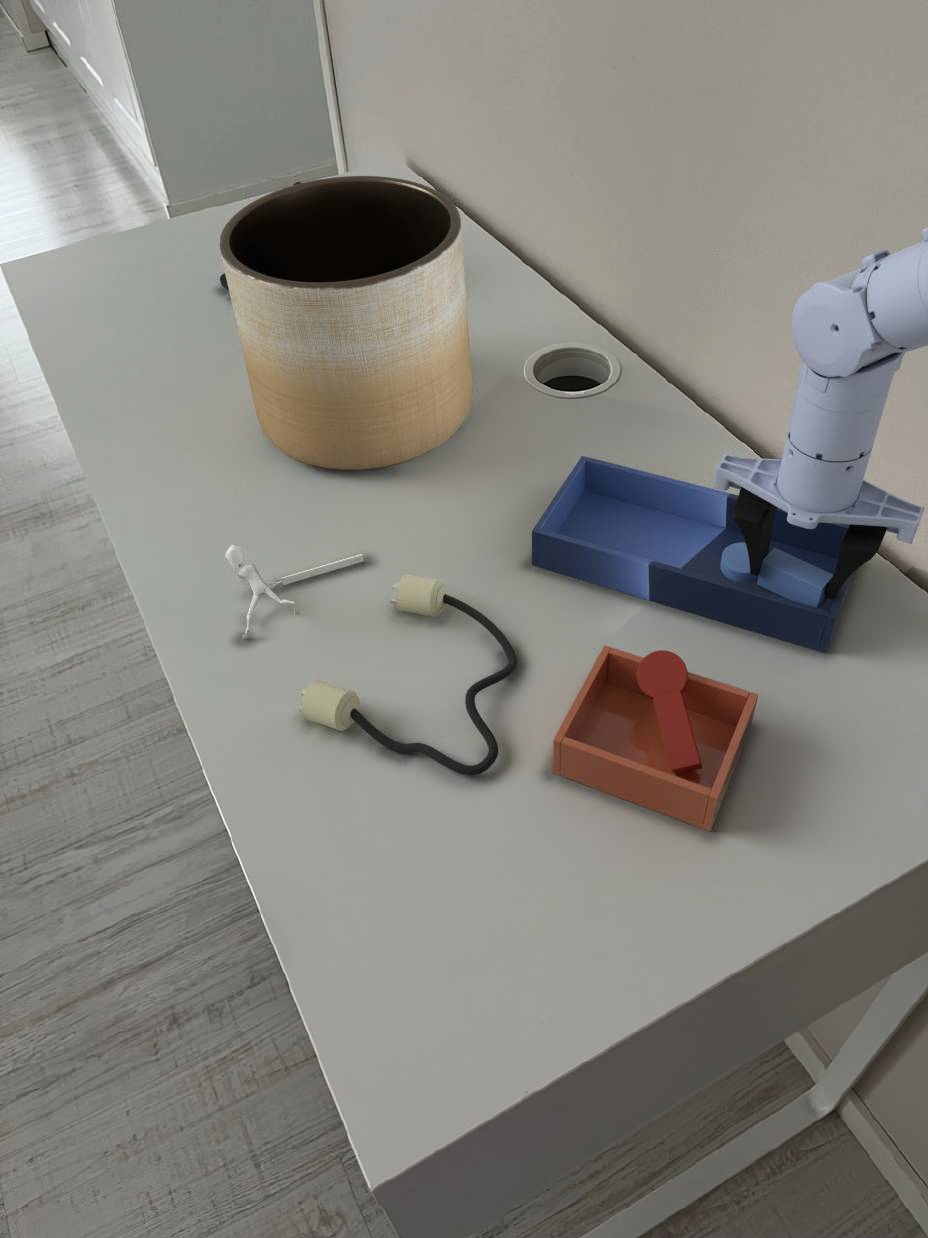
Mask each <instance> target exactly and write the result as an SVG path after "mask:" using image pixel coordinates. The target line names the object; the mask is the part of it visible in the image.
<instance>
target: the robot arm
mask: <svg viewBox="0 0 928 1238" xmlns="http://www.w3.org/2000/svg"><path fill="white" fill-rule="evenodd" d="M921 234H922V238H923V240H922V241H919V242H916V243H914V244H912V245H910V246H908V247H905V248H903V249H901V250H899V251H896V252H894V253H892V254H891V252H890V250H888V249H882V250H879V251H877V252H874V253H872V254H869V255H868V256H865V257H864V258H863V259H862V262H861V263H862V267H860V268H857V269H854V270H852V271H849V272H847V273H845V274H842V275H840V276H837V277H834V278H832V279H829V280H824V281H817V282H815V283H814V284H813V285H812V286H811V288H810V289H808V290H807V291H805V292H804V293H802V295H801V296H800V297H799V298H798V299H797V300H796V302H795V305H794V307H793V310H792V314H791V320H790V321H791V322H790V323H791V324H790V326H791V327H790V328H791V336H792V340H793V343H794V346H795V350H796V351H797V353H798V355H799V356H800V358H801V360H802V362H801V367H800V371H799V375H798V380H797V384H796V385H797V386H796V391H795V395H794V399H793V404H792V409H791V414H790V418H789V424H788V428H787V432H786V437H785V441H784V446H783V450H782V455H781V458H780V459H778V458H759V457H746V456H745V457H744V456H738V455H734V454H733V455H732V454H728V453H724V454H723V456H722V457H721V459H720V461H719V462H718V465H716V468H715V474H714V480H713V486H712V487H713V488H712V489H715V490H719V491H723V492H726V491H728V490H729V489H730V488H732V489H733V488H734V489H736V490H739V493H738V495H739V497H738V500H737V502H736V504H735V506H734V508H733V519H734V521H735V522H736V523H737V525H738V527H739V528H740V530H741V533H742V535H743V537H744V540H745V543H746V547H747V551H748V556H749V563H750V574H752V575H756V576H758V575H759V573H760V570H761V566H762V561H763V559H764V558H765V557H766V556H767V555H768V552H769V547H770V540H771V533H772V526H773V521H774V518H775V514H776V510H777V507H778V508H780V509H782V510H783V511H785V512H787V513H788V516H787V521H788V522H789V523H790V524H792V525H796V526H799V527H803V528H806V529H814V528H816V527H817V525H818V523H836V524H850V526H849V528H848V530H847V532H846V534H845V537H844V539H843V541H842V543H841V547H840V551H839V556H838V561H837V565H836V569H835V572H834V575H833V577H832V580H831V582H830V584H829V587H828V589H827V592H826V596H825V597H826V598H829V599H832V600H834V599H835V598H836V595H837V593H838V591H839V589H840V588H841V586H842V585H843V584H844V582H845V581H846V580H847V579H848V578H849V577H850V575H851V574H852V573H853V572H854V573H855V572H856V571H857V570H858V569H859V568H861V567H862V566H863V565H865V564H866V563H868V562H870V561H871V560H872V559H873V558H874V557H875V556H876V555H877V553H878V552H879V550H880V548H881V545H882V543H883V541H884V538H885V535H886V533H887V532H888V533H892V534H895V535H896V539H897V541H899V542H902V543H906V544H909V545H911V544H913V542H914V539H915V537H916V534H917V531H918V528H919V525H920V522H921V520H922V517H923V515H924V511H925V509H926V508H925V507H924V506H920V505H918V504H914V503H911V502H909V501H907V500H904V499H902V498H899V497H897V496H896V495H894V494H892V493H890V492H888V491H886V490H884V489H882V488H881V487H879V486H876V485H875V484H874V483H871V482H869V481H867V480H865V475H866V471H867V468H868V464H869V461H870V458H871V454H872V452H873V448H874V443H875V440H876V436H877V434H878V429H879V426H880V423H881V419H882V416H883V413H884V409H885V405H886V402H887V399H888V396H889V392H890V389H891V385H892V382H893V379H894V375H895V372H897V371H899V370H900V369H901V365H902V363H903V359H904V357H905V355H906V353H907V352H912V351H914V350H917V349H921V348H923V347H927V346H928V227H925V228H923V229H922V231H921ZM854 573H853V574H854Z"/></svg>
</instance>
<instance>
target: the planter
mask: <svg viewBox="0 0 928 1238" xmlns="http://www.w3.org/2000/svg"><path fill="white" fill-rule="evenodd" d="M462 227H463V226H462V218H461V214H460V211H459V209H458V208H457V206H456V205H455V203H454V202H453V201H452V200H451V199H450V198H449V197H447V195H445V194H443V193H442V192H440V191H438V190H436V189H434V188H432V187H430V186H427V185H425V184H422V183H418V182H416V181H411V180H407V179H404V178H397V177H390V176H380V175H379V176H378V175H348V176H345V175H344V176H334V177H326V178H320V179H314V180H310V181H305V182H301V183H300V184H296V185H294V184H293V185H290V186H287V187H284V188H281V189H280V188H279V189H278V190H275V191H273V192H270V193H268V194H265V195H263V196H261V197H259V198H257V199H255V200H254V201H252V202H250V203H249V204H247V205H245V206H244V207H242V208H241V209H240V210H239V211H237V212H236V213H235V214H233V215H232V216H231V218H230V219H229V220H228V221H227V222H226V224H225V226H224V227H223V228H222V230H221V232H220V237H219V241H218V245H219V246H218V247H219V252H220V257H221V262H222V266H223V270H224V273H225V275H226V279H227V283H228V288H229V291H228V292H229V296H230V301H231V305H232V309H233V314H234V317H235V323H236V327H237V332H238V336H239V341H240V345H241V350H242V354H243V359H244V364H245V369H246V373H247V378H248V383H249V387H250V392H251V396H252V401H253V405H254V409H255V410H254V411H255V413H256V417H257V420H258V422H259V425H260V427H261V430H262V432H263V434H264V436H265V438H266V439H267V440H268V441H269V443H271V444H272V445H273V447H275V448H276V449H277V450H279V451H280V452H281V453H283V454H284V455H287V456H288V457H290V458H291V459H294V460H296V461H299V462H302V463H304V464H307V465H311V466H315V467H318V468H324V469H329V470H330V469H331V470H337V471H369V470H377V469H383V468H388V467H392V466H396V465H399V464H400V465H401V464H403V463H407V462H409V461H412V460H414V459H416V458H419V457H421V456H423V455H426V454H428V453H429V452H431V451H434V450H435V449H437V448H438V447H439V446H441V445H442V444H444V443H445V442H447V441H448V440H449V439H450V438H452V436H454V434H456V432H457V431H458V430H459V429H460V428H461V427H462V426H463V424H464V422H465V421H466V419H467V418H468V416H469V414H470V411H471V407H472V401H473V387H474V386H473V370H472V358H471V357H472V355H471V343H470V342H471V341H470V330H469V329H470V328H469V318H468V317H469V316H468V304H467V301H468V300H467V289H466V287H467V286H466V275H465V259H464V258H465V257H464V242H463V241H464V240H463V228H462Z"/></svg>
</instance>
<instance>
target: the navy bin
mask: <svg viewBox="0 0 928 1238" xmlns="http://www.w3.org/2000/svg"><path fill="white" fill-rule="evenodd" d="M738 497H739V494H734V493H730V492H726V491H723V490H719V489H716V488H711V487H707V486H703V485H699V484H695V483H692V482H688V481H683V480H679V479H676V478H672V477H668V476H664V475H661V474H655V473H652V472H648V471H645V470H641V469H637V468H634V467H633V468H632V467H629V466H624V465H621V464H618V463H613V462H609V461H605V460H602V459H597V458H593V457H589V456H585V455H581V456H580V458H579V460H578V461H577V462H576V464H575V466H574V467H573V469H572V470H571V471H570V473H569V474H568V476H567V477H566V479H565V480H564V481H563V483H562V485H561V486H560V488H559V489H558V491H557V492H556V494H555V495H554V496H553V498H552V500H551V501H550V503H549V504H548V506H547V507H546V509H545V510H544V512H543V513H542V515H541V516H540V518H539V519H538V520H537V522H536V524H535V525H534V527H533V528H532V530H531V566H533V567H536V568H539V569H543V570H546V571H550V572H553V573H557V574H560V575H563V576H566V577H569V578H573V579H577V580H580V581H583V582H586V583H590V584H593V585H597V586H600V587H603V588H605V589H606V588H607V589H610V590H613V591H616V592H619V593H623V594H627V595H629V596H633V597H637V598H640V599H642V600H647V601H650V602H653V603H657V604H659V605H662V606H666V607H670V608H673V609H676V610H680V611H684V612H687V613H690V614H693V615H695V616H700V617H703V618H706V619H709V620H713V621H716V622H720V623H724V624H725V625H726V624H727V625H729V626H733V627H737V628H740V629H743V630H747V631H750V632H753V633H757V634H760V635H763V636H767V637H770V638H774V639H777V640H780V641H783V642H785V643H790V644H793V645H797V646H800V647H803V648H807V649H810V650H813V651H816V652H820V653H824V654H826V653H827V651H828V648H829V645H830V642H831V639H832V636H833V633H834V631H835V628H836V626H837V622H838V620H839V616H840V613H841V610H842V608H843V605H844V602H845V599H846V596H847V593H848V590H849V588H850V584H851V582H852V579H853V575H854V573H855V572H853V573H852V574H851V575H850V577H849V578H848V579H847V580H846V581H845V582H844V584H843V585H842V586H841V588H840V589H839V591H838V593H837V595H836V598H835V599H834V600H832V599H829V598H828V599H827V600H826V601H825V602H824V603H823V605H822V606H821V607H820V608H817V607H813V606H810V605H806V604H803V603H799V602H796V601H792V600H789V599H787V598H785V597H783V596H780V595H778V594H776V593H774V592H772V591H770V590H768V589H766V588H764V587H762V586H760V585H758V584H757V581H756V582H752V583H739V582H735V581H733V580H730V579H729V578H727V577H726V576H725V575H724V574H723V573H722V571H721V568H720V564H721V558H722V553H723V551H724V549H725V548H726V547H728V546H729V545H731V544H735V543H745V540H744V537H743V535H742V533H741V530H740V528H739V527H738V525H737V523H736V522H735V521H734V519H733V508H734V506H735V504H736V502H737V500H738ZM787 516H788V513H787V512H785V511H783V510H782V509H780V508H778V507H777V510H776V514H775V518H774V521H773V526H772V533H771V540H770V547H769V552H768V554H769V553H770V551H771V550H772V549H773V548H776V549H778V550H781V551H783V552H785V553H787V554H789V555H792V556H794V557H796V558H798V559H800V560H802V561H805V562H807V563H809V564H811V565H813V566H816V567H818V568H820V569H822V570H824V571H827V572H829V573H831V574H833V575H834V572H835V569H836V565H837V561H838V556H839V551H840V547H841V543H842V541H843V539H844V537H845V534H846V532H847V530H848V528H849V526H850V524H836V523H818V525H817V527H816V528H814V529H806V528H803V527H799V526H796V525H792V524H790V523H789V522H788V521H787Z"/></svg>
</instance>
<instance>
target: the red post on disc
mask: <svg viewBox="0 0 928 1238" xmlns="http://www.w3.org/2000/svg"><path fill="white" fill-rule="evenodd" d="M688 672H689V671H688V668H687V666H686V663H685V661H684V660H683V659H682V658H681V656H679V655H678V654H677V653H675V652H672V651H670V650H663V649H659V650H654V651H652V652H650V653H649V654H646V655H645V656H644V657H643V660H642V661H641V662H640V664H639V666H638V669H637V681H638V684H639V686H640V688H641V690H642V691H643V693H644V694H645V695H646V696H647V697H649V698H650V699H652V700H653V702H654V705H655V709H656V713H657V717H658V720H659V724H660V728H661V732H662V735H663V739H664V743H665V747H666V751H667V754H668V758H669V762H670V766H671V769H672V771H673V772H674V774H675V775H676V774H681V773H685V772H689V771H693V770H697V769H701V768H702V764H701V760H700V756H699V753H698V749H697V746H696V742H695V738H694V735H693V731H692V727H691V724H690V720H689V716H688V713H687V709H686V706H685V702H684V698H683V696H682V694H683V692H684V691H685V689H686V687H687V685H688V679H689V676H688Z"/></svg>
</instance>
